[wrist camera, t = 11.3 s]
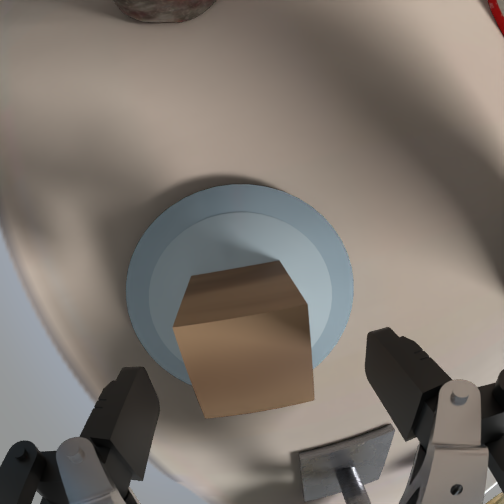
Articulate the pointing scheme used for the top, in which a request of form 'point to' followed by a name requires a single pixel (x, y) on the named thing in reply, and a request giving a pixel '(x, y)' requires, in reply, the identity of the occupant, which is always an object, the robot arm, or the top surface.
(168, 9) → the candle
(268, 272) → the walnut block
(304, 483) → the balance
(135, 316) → the dish
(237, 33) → the top surface
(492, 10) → the kitchen timer
